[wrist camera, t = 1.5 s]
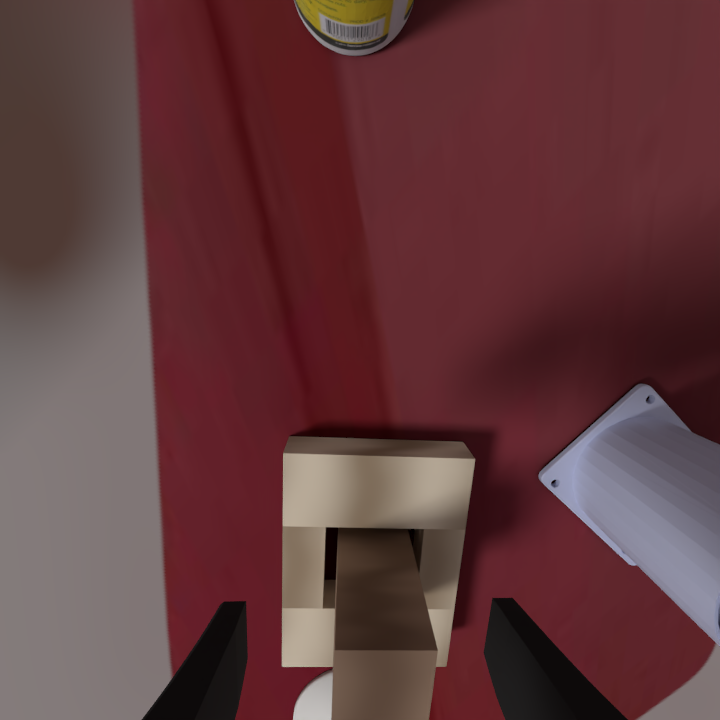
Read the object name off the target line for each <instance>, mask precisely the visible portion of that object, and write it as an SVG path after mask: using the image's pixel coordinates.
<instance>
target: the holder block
mask: <svg viewBox="0 0 720 720" xmlns="http://www.w3.org/2000/svg"><path fill="white" fill-rule="evenodd" d="M474 465H475V458H474V456H473V455H472V454H471V452H470V451H469V449H468V448H467V447H466V445H465V444H464V442H454V441H423V440H392V439H361V438H330V437H299V436H289V438H288V441H287V444H286V447H285V450H284V453H283V577H282V667H333V652H334V621H335V590H336V580H325V556H326V530H327V527H344V528H397V529H415V531H414V541H413V552H414V556H415V560H416V564H417V568H418V572H419V576H420V580H421V584H422V588H423V592H424V596H425V600H426V604H427V608H428V612H429V616H430V620H431V625H432V629H433V633H434V637H435V641H436V645H437V649H438V654H437V662H436V667H446V665H447V658H448V651H449V644H450V636H451V629H452V622H453V615H454V608H455V601H456V594H457V586H458V579H459V572H460V565H461V558H462V551H463V544H464V536H465V529H466V522H467V515H468V508H469V501H470V494H471V486H472V479H473V472H474Z"/></svg>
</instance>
